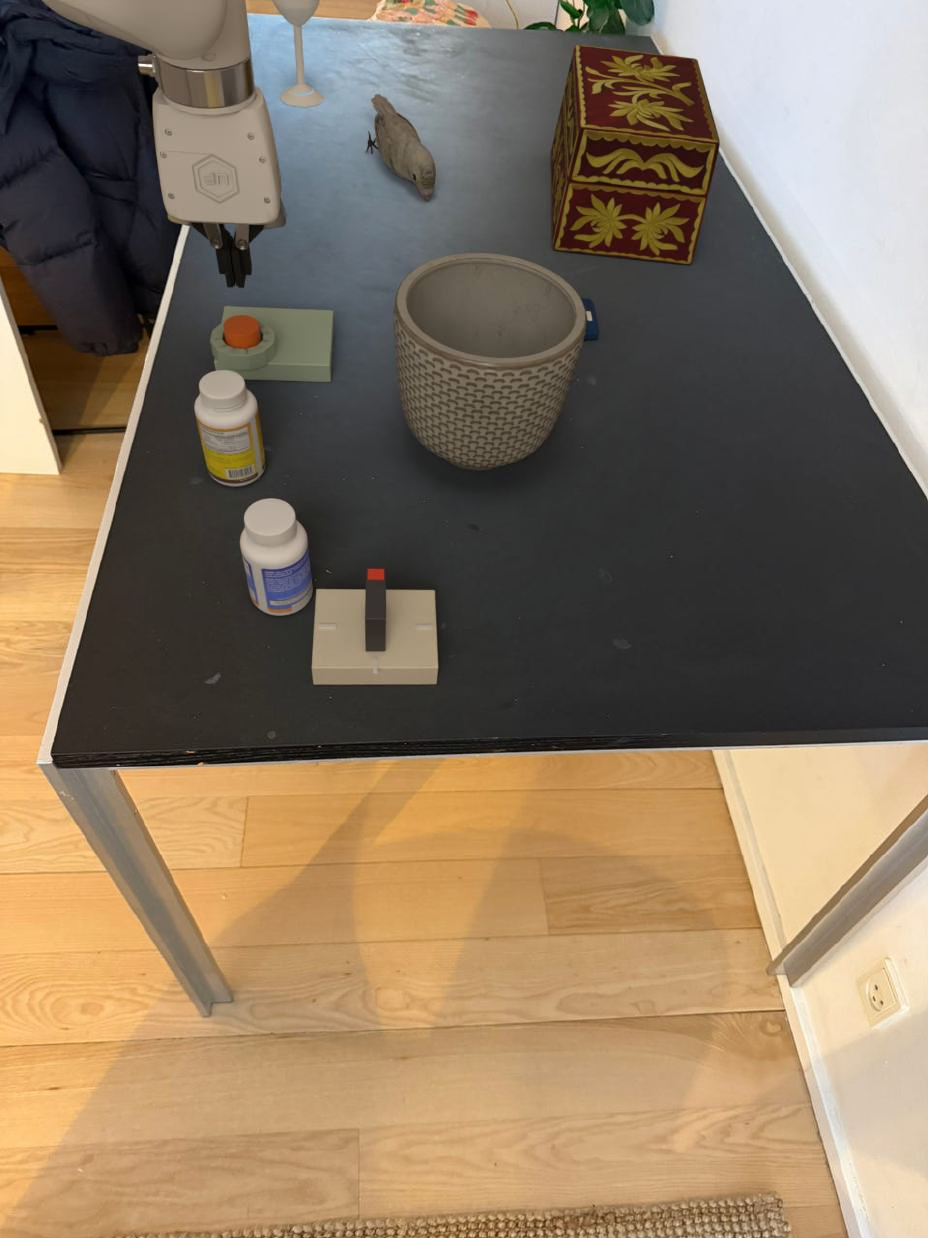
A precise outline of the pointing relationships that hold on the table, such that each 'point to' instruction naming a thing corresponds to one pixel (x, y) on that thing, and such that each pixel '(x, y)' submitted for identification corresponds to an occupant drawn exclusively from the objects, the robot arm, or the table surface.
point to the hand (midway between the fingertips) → (237, 279)
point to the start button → (242, 331)
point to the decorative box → (632, 156)
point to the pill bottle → (276, 558)
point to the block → (280, 345)
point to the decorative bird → (402, 147)
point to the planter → (485, 355)
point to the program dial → (375, 610)
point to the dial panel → (344, 639)
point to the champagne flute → (299, 50)
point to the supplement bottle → (229, 429)
